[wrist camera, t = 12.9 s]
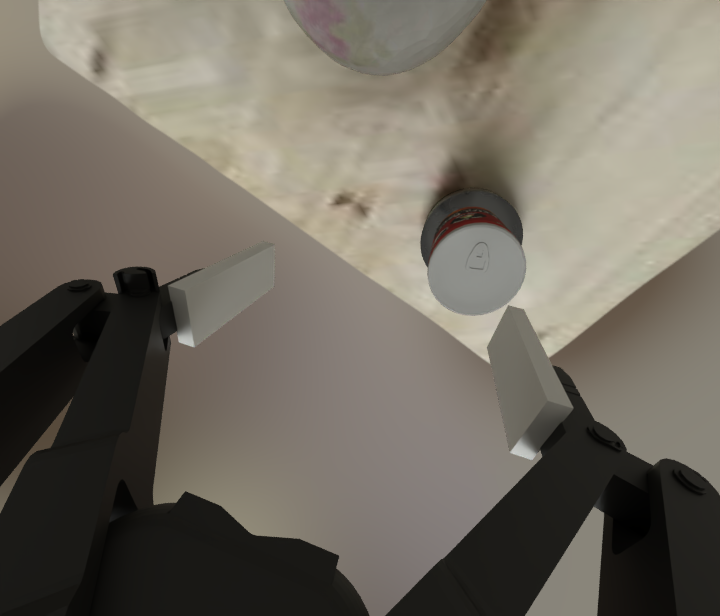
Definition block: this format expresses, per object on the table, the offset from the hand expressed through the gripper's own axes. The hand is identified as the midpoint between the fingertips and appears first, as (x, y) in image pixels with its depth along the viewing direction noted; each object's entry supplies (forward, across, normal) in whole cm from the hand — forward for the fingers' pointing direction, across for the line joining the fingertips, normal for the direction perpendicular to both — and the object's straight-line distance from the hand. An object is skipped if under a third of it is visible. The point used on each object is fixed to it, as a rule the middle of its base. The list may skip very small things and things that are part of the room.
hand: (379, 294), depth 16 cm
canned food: (+21, +6, -1) cm, 22 cm away
